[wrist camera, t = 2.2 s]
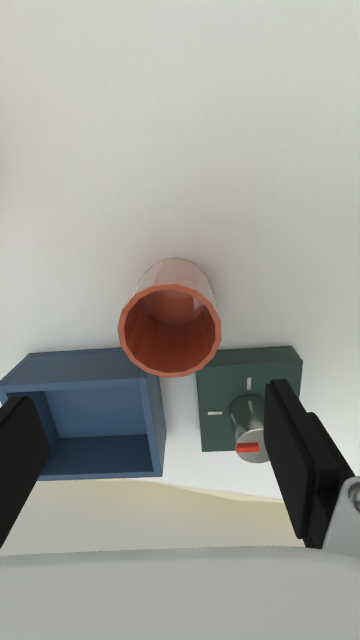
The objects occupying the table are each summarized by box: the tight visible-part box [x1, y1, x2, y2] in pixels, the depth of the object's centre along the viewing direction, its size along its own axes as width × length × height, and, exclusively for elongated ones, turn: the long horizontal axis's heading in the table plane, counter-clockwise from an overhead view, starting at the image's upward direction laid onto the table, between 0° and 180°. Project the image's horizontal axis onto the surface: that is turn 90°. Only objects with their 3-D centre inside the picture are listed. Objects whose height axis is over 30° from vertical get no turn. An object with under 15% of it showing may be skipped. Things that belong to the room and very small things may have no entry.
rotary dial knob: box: [229, 395, 270, 463], centre depth 26 cm, size 4×4×5 cm
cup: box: [118, 258, 221, 378], centre depth 22 cm, size 7×7×9 cm
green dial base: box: [196, 346, 303, 452], centre depth 29 cm, size 10×11×3 cm
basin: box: [0, 348, 166, 481], centre depth 29 cm, size 14×12×6 cm
